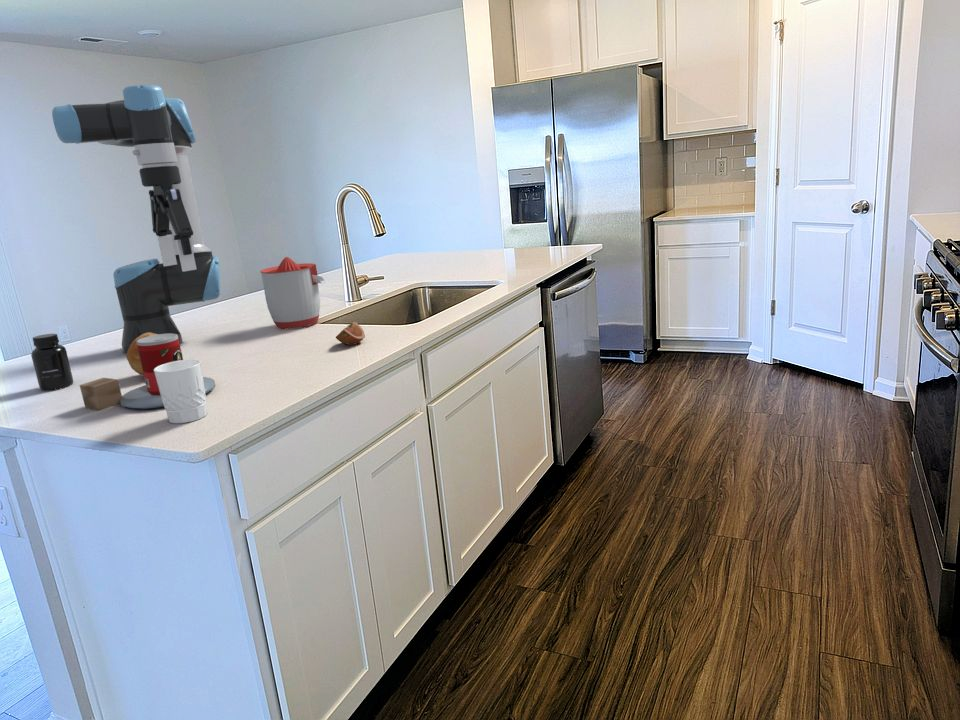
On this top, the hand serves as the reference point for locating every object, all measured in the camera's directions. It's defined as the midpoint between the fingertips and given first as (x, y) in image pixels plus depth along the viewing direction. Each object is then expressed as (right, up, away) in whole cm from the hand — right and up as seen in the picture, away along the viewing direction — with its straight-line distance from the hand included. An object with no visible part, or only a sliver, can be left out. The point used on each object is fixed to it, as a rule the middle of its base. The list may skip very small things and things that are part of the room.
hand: (179, 267), depth 149 cm
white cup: (+11, -31, -22) cm, 39 cm away
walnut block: (-11, -29, -9) cm, 33 cm away
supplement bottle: (-32, -26, +9) cm, 42 cm away
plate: (+1, -27, -7) cm, 28 cm away
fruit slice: (+33, -16, +23) cm, 43 cm away
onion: (-10, -24, +11) cm, 28 cm away
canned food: (+1, -26, -7) cm, 27 cm away
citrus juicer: (+13, -10, +52) cm, 55 cm away
